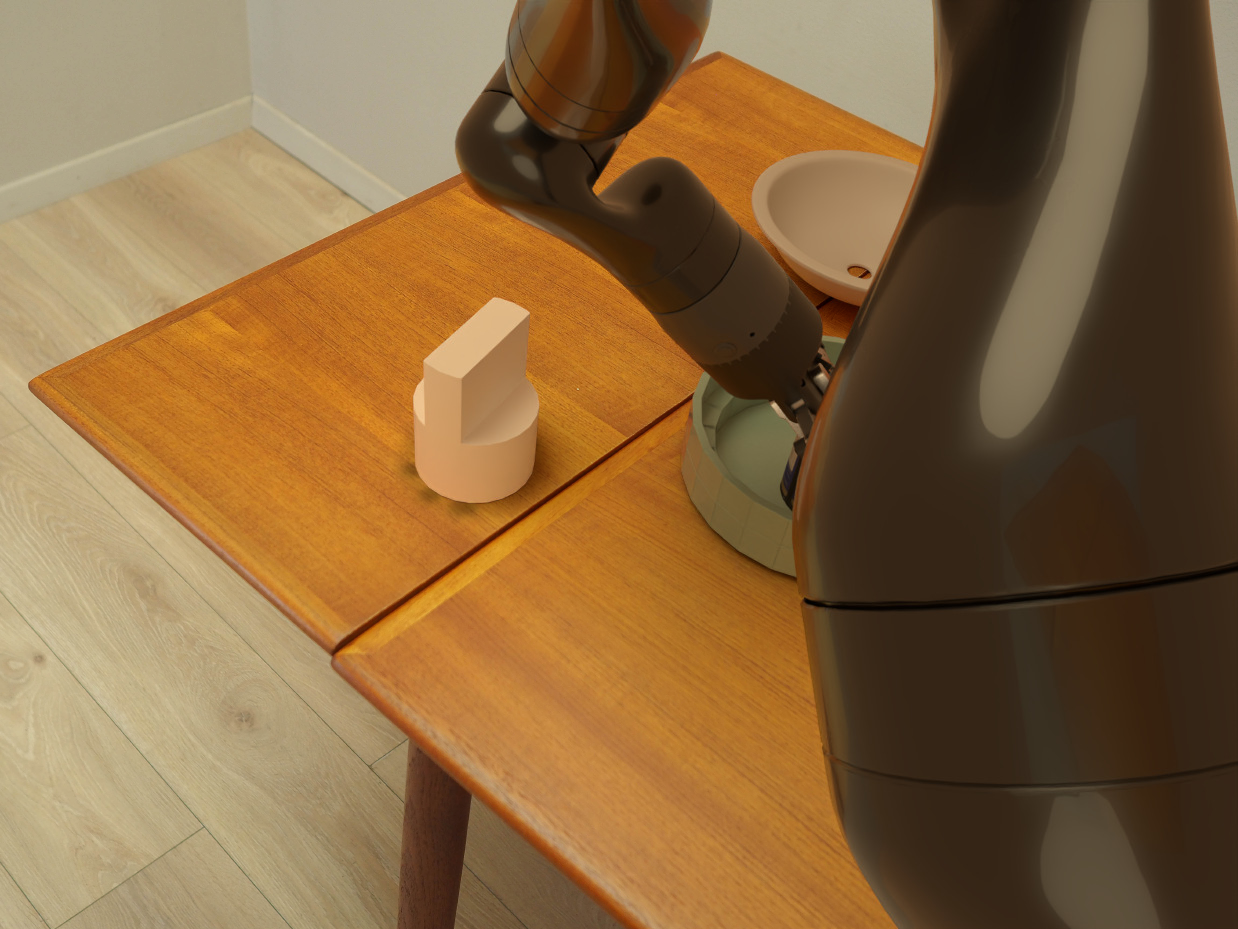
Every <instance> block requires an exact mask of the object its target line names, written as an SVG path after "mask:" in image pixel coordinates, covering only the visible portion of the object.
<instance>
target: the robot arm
mask: <svg viewBox="0 0 1238 929" xmlns="http://www.w3.org/2000/svg"><path fill="white" fill-rule="evenodd" d="M713 2H714V0H516V3H515V5H514V8H513V10H512V14H511V17H510V20H509V21H510V22H509V25H508V29H507V33H506V39H505V49H504V59H503V61H502V62H501V63H500V65H499V66H498V68H497V69H496V71H495V72H494V73H493V75H492V77H491V78H490V80H488V82H487V84H486V85H485V86H484V88H483V90H482V91H481V93H480V94H479V95H478V97H477V98H476V99H475V101H474V102H473V104H472V105H471V107H470V108H469V109H468V111H467V112H466V114H465V115H464V117H463V118H462V120H461V121H460V124H459V126H458V128H457V130H456V134H455V139H454V154H455V158H456V162H457V165H458V168H459V171H460V173H461V175H462V177H463V179H464V181H465V182H466V184H467V186H468V187H469V188H470V190H472V192H473V193H474V194H475V195H476V196H477V197H478V198H479V199H481V201H483V202H484V203H486V204H487V206H488V205H489V206H490V207H491V208H493V209H494V210H495V209H496V210H497V211H499V212H501V213H502V214H504V215H506V216H508V217H511V218H512V219H515V220H517V221H519V222H521V223H523V224H525V225H528V226H530V227H532V228H535V229H537V230H539V231H542V232H543V233H545V234H547V235H549V236H551V237H554V238H555V239H558V240H559V241H561V242H562V243H564V244H566V245H568V246H570V247H572V249H575V250H576V251H579V253H581V254H583V256H584V255H585V256H586V257H587V258H589V259H591V260H592V261H594V262H595V263H597V265H600V266H601V267H602V268H603V269H604V270H605V271H607V272H608V273H609V274H610V275H611V276H612V277H613V278H615V280H617V281H618V282H619V284H621V286H622V287H624V288H625V289H626V290H627V291H628V292H629V293H630V294H631V295H632V296H633V297H634V298H635V299H636V300H637V301H638V302H639V303H640V304H642V306H643V307H644V308H645V309H646V310H647V311H648V312H649V313H650V314H651V316H652V317H653V318H654V320H655V321H656V322H657V324H658V325H659V327H660V328H661V329H662V330H663V332H664V333H665V334H666V335H667V336H668V337H669V338H670V339H671V340H672V341H673V342H674V343H675V344H676V345H677V346H678V347H679V348H680V349H681V350H682V351H683V352H685V353H686V354H687V355H688V356H689V357H690V359H691V360H693V361H694V362H695V363H696V364H697V365H698V366H699V367H700V368H701V369H702V370H703V372H704V371H705V372H706V373H708V374H709V375H710V376H711V377H712V378H713V379H714V380H715V381H716V382H717V383H718V384H719V385H720V386H721V387H722V388H723V389H724V390H725V391H726V392H727V393H729V394H730V395H732V396H734V397H736V398H740V399H744V400H768V401H769V403H770V405H771V406H772V408H773V409H774V411H775V412H776V413H777V415H778V416H779V417H780V418H782V419H785V420H786V421H787V422H788V423H789V425H790V426H791V427H792V429H793V430H794V431H795V433H796V434H797V436H798V437H799V438H800V439H799V440H797V441H795V442H793V446H794V448H795V449H794V450H795V452H796V454H797V455H798V456H800V458H801V459H802V462H801V466H800V470H799V474H798V478H797V484H796V490H795V497H794V503H793V510H792V544H793V553H794V562H795V570H796V577H795V578H796V584H797V590H798V595H800V596H801V597H803V598H802V599H801V601H800V603H799V604H800V611H801V618H802V625H803V631H804V637H805V644H806V645H805V646H806V650H807V657H808V658H807V659H808V665H809V671H810V672H809V673H810V677H811V678H810V679H811V684H812V690H813V698H814V704H815V705H814V706H815V710H816V718H817V725H818V731H819V737H820V743H821V750H822V757H823V762H824V769H825V774H826V779H827V784H828V785H827V787H828V792H829V796H830V801H831V805H832V809H833V812H834V816H835V818H836V822H837V824H838V828H839V831H840V834H841V837H842V838H843V840H844V842H845V844H846V846H847V848H848V850H849V853H850V855H851V856H852V859H853V861H854V863H855V864H856V866H857V868H858V870H859V871H860V872H861V874H862V876H863V878H864V879H865V881H866V883H867V884H868V886H869V888H870V890H871V891H872V892H873V894H874V895H875V897H876V899H877V900H878V903H880V905H881V907H882V908H883V909H884V911H885V912H886V914H887V915H888V917H889V918H890V919H891V921H892V922H893V924H894V925H895V927H896V928H897V929H1238V211H1237V204H1236V196H1235V190H1234V189H1235V188H1234V182H1233V175H1232V167H1231V160H1230V153H1229V145H1228V138H1227V132H1226V125H1225V117H1224V110H1223V104H1222V97H1221V91H1220V83H1219V76H1218V66H1217V58H1216V51H1215V42H1214V34H1213V26H1212V18H1211V17H1212V15H1211V5H1210V4H1211V3H1210V0H931V6H932V7H931V8H932V26H933V28H932V29H933V31H932V32H933V65H934V66H933V68H934V69H933V70H934V87H933V88H934V89H933V96H932V105H931V106H932V107H931V115H930V120H929V124H928V130H927V134H926V138H925V143H924V146H923V149H922V153H921V156H920V159H919V162H918V169H917V172H916V176H915V179H914V182H913V185H912V188H911V190H910V193H909V196H908V198H907V201H906V203H905V206H904V208H903V211H902V214H901V216H900V219H899V221H898V224H897V226H896V229H895V231H894V233H893V235H892V237H891V240H890V242H889V244H888V246H887V248H886V251H885V253H884V255H883V257H882V260H881V262H880V264H879V266H878V268H877V271H876V273H875V275H874V277H873V280H872V282H871V284H870V286H869V288H868V291H867V293H866V295H865V297H864V299H863V302H862V304H861V306H859V309H858V311H857V313H856V314H855V317H854V320H853V322H852V325H851V326H850V329H849V332H848V334H847V336H846V338H845V339H846V340H845V343H844V345H843V347H842V350H841V352H840V354H839V356H838V359H837V361H836V364H835V366H834V364H833V363H831V361H830V359H829V358H828V356H827V354H826V351H825V346H824V344H823V343H822V342H821V341H822V336H823V335H824V325H823V324H824V323H823V320H822V316H821V314H820V312H819V310H818V309H817V307H816V306H815V305H814V304H813V302H812V301H811V300H810V299H809V298H808V296H807V295H806V294H805V293H804V292H803V291H802V289H800V287H799V286H798V285H797V284H796V283H795V282H794V280H793V279H792V278H791V277H790V275H788V273H787V272H786V271H785V270H784V268H783V267H782V266H781V265H780V264H779V262H777V261H776V259H775V258H774V257H773V255H772V254H771V253H770V252H769V251H768V250H767V248H766V247H765V246H764V245H763V244H762V243H761V242H760V241H759V240H758V239H757V238H756V237H755V236H754V235H753V234H751V233H750V232H748V231H747V230H746V229H745V228H744V227H743V226H742V225H740V224H739V222H737V220H735V218H734V217H733V216H732V215H731V213H729V211H728V209H726V208H725V206H724V205H722V203H721V201H720V200H719V199H718V198H717V197H716V196H715V195H714V194H713V193H712V191H711V190H709V188H708V187H707V186H706V185H705V184H704V182H703V181H702V180H701V179H700V178H699V177H698V176H697V175H696V173H694V171H693V170H692V169H691V168H689V167H688V166H687V165H686V164H685V163H683V162H681V161H680V160H679V159H676V158H674V157H671V156H654V157H649V158H646V159H644V160H641V161H639V162H637V163H636V164H634V165H632V166H631V167H629V168H628V169H626V170H625V171H623V172H622V173H621V174H620V175H619V176H617V177H616V178H615V179H613V181H611V183H609V184H608V185H607V186H606V187H604V188H603V190H601V191H600V192H599V193H598V194H596V193H595V191H594V187H595V185H596V183H597V182H598V180H599V179H600V177H601V176H602V175H603V173H604V171H605V170H606V168H607V167H608V165H609V164H610V162H611V160H613V158H614V156H615V155H616V153H617V151H618V150H619V148H620V147H621V145H622V144H623V142H624V141H625V140H626V138H627V137H628V135H629V134H630V133H631V131H632V130H633V129H635V128H636V127H637V126H639V125H640V124H641V123H642V122H643V121H645V119H646V118H647V119H648V117H649V115H650V114H651V113H652V112H654V110H655V109H656V108H657V107H658V105H659V104H660V103H661V102H662V101H663V100H664V98H665V97H666V96H667V95H668V94H669V93H670V91H671V90H672V89H673V88H674V87H675V86H676V84H677V83H678V82H679V81H680V79H681V78H682V77H683V76H684V75H685V74H686V72H687V70H688V69H689V67H690V65H691V64H692V63H693V61H694V59H695V58H696V56H697V55H698V52H700V49H701V47H702V45H703V42H704V39H705V37H706V34H707V31H708V29H709V25H710V20H711V16H712V15H711V14H712V10H713V9H712V8H713ZM832 370H833V372H832V374H831V376H830V375H829V373H830V372H831V371H832Z"/></svg>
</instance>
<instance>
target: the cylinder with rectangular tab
mask: <svg viewBox="0 0 1238 929" xmlns="http://www.w3.org/2000/svg"><path fill="white" fill-rule="evenodd" d="M530 319H531V312H530V311H528V310H527V309H526V308H524V307H522V306H520V305H518V304H517V303H515V302H512V301H509V300H506V299H503V298H500V297H495V296H493V297H492V298H491V299H490V300H489V301H488V302H487V303H485V305H483V306H482V307H481V308H480V309H479V310H478V311H476V313H475V314H474V315H473V316H471V317H470V318H469V319H468V320H467V321H466V322H464V323H463V324H462V325H461V326H460V327H459V328H458V329H456V331H454V332H453V333H452V334H451V335H449V337H448V338H447V339H446V340H444V341H443V342H442V343H441V344H440V345H438V347H437V348H435V349H434V350H433V351H432V352H431V353H429V355H428V356H426V358H424V360H422V362H423V364H422V365H423V378H422V379H421V380H420V382H418V384H417V385H416V388H415V390H414V393H413V396H412V402H413V404H412V405H413V434H414V435H413V436H414V464H415V465H414V467H415V469H416V471H417V474H418V476H419V479H420V480H422V481H423V483H425V485H426V486H427V487H428V488H429V489H430V490H432V491H433V492H435V493H437V494H438V495H439V496H442V497H444V498H447V499H449V500H452V501H454V502H461V503H468V504H480V503H481V504H483V503H484V504H485V503H492V502H495V501H498V500H503V499H505V498H507V497H509V496H512V495H513V494H515V493H517V492H518V491H519V490H520V489H521V488H522V487H523V486H525V485H526V484H527V482H528V480H529V479H530V477H531V476H532V474H533V470H534V466H535V463H536V462H535V460H536V448H537V437H538V427H539V415H540V414H539V413H540V401H539V394H538V392H537V390H536V388H535V387H534V385H533V383H532V382H531V381H530V380H529V379H528V378H527V377H526V375H527V363H528V362H527V361H528V350H529V348H528V347H529V334H530Z"/></svg>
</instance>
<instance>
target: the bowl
mask: <svg viewBox="0 0 1238 929" xmlns="http://www.w3.org/2000/svg"><path fill="white" fill-rule="evenodd" d="M845 340H846V338H844V337H838V336H832V335H831V336H830V335H824V334H823V336H822V341H821V342H822V343H823V344H824V346H825V351H826V354H827V356H828V358H829V359H830V361H831V363H833V364H834V366H835V364H836V361H837V359H838V356H839V354H840V352H841V350H842V347H843V345H844V343H845ZM691 398H692V399H691V402H690V407H689V412H688V416H687V420H686V425H685V429H684V434H683V438H682V442H681V448H680V452H681V454H680V457H681V458H680V459H681V460H680V461H681V462H680V471H681V475H682V478H683V481H684V484H685V488H686V491H687V493H688V495H689V496H688V497H689V498H690V501H691V502H692V503H693V505H694V507H695V508H696V509H697V510H698V512H699V514H700V515H701V517H702V518H703V519H704V520H705V522H706V523H707V524H708V526H709V527H710V528H711V529H712V530H713V531H714V532H716V533H717V534H718V535H719V536H720V537H721V538H723V540H724V541H726V542H727V543H728V544H729V545H730V546H731V547H733V548H734V549H735V550H737V551H738V552H740V553H741V554H743V555H745V556H746V557H748V558H750V559H752V560H754V561H756V562H757V563H759V564H761V565H763V566H765V567H766V568H768V569H770V570H772V571H775V572H778V573H782V574H785V575H788V576H791V577H795V578H796V570H795V562H794V553H793V544H792V511H791V510H790V509H789V508H788V506H787V505H786V503H785V502H784V500H783V498H782V496H781V492H780V483H781V480H782V477H783V474H784V471H785V468H786V465H787V462H788V459H789V455H790V453H791V450H792V447H793V442H794V441H795V438H796V435H797V434H796V433H795V431H794V430H793V429H792V427H791V426H790V425H789V423H788V422H787V421H786V420H785V419H782V418H780V417H779V416H778V415H777V413H776V412H775V411H774V409H773V408H772V406H771V405H770V403H769V401H768V400H744V399H740V398H736V397H734V396H732V395H730V394H729V393H727V392H726V391H725V390H724V389H723V388H722V387H721V386H720V385H719V384H718V383H717V382H716V381H715V380H714V379H713V378H712V377H711V376H710V375H709V374H708V373H706V372H705V371H704V370H703V372H702V374H701V375H700V378H699V380H698V382H697V385H696V387H695V390H694V391H693V394H692V397H691Z"/></svg>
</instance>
